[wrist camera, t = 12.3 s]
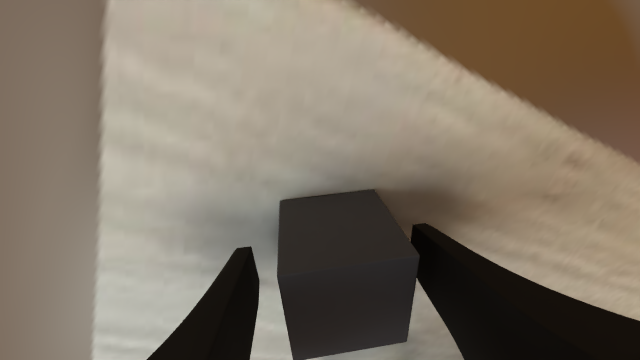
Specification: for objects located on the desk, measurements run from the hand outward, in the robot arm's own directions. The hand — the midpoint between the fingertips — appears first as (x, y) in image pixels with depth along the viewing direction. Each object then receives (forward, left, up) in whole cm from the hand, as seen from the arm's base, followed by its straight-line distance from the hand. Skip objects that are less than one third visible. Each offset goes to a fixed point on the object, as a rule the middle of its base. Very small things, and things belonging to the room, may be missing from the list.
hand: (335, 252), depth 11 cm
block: (0, 0, -1) cm, 1 cm away
